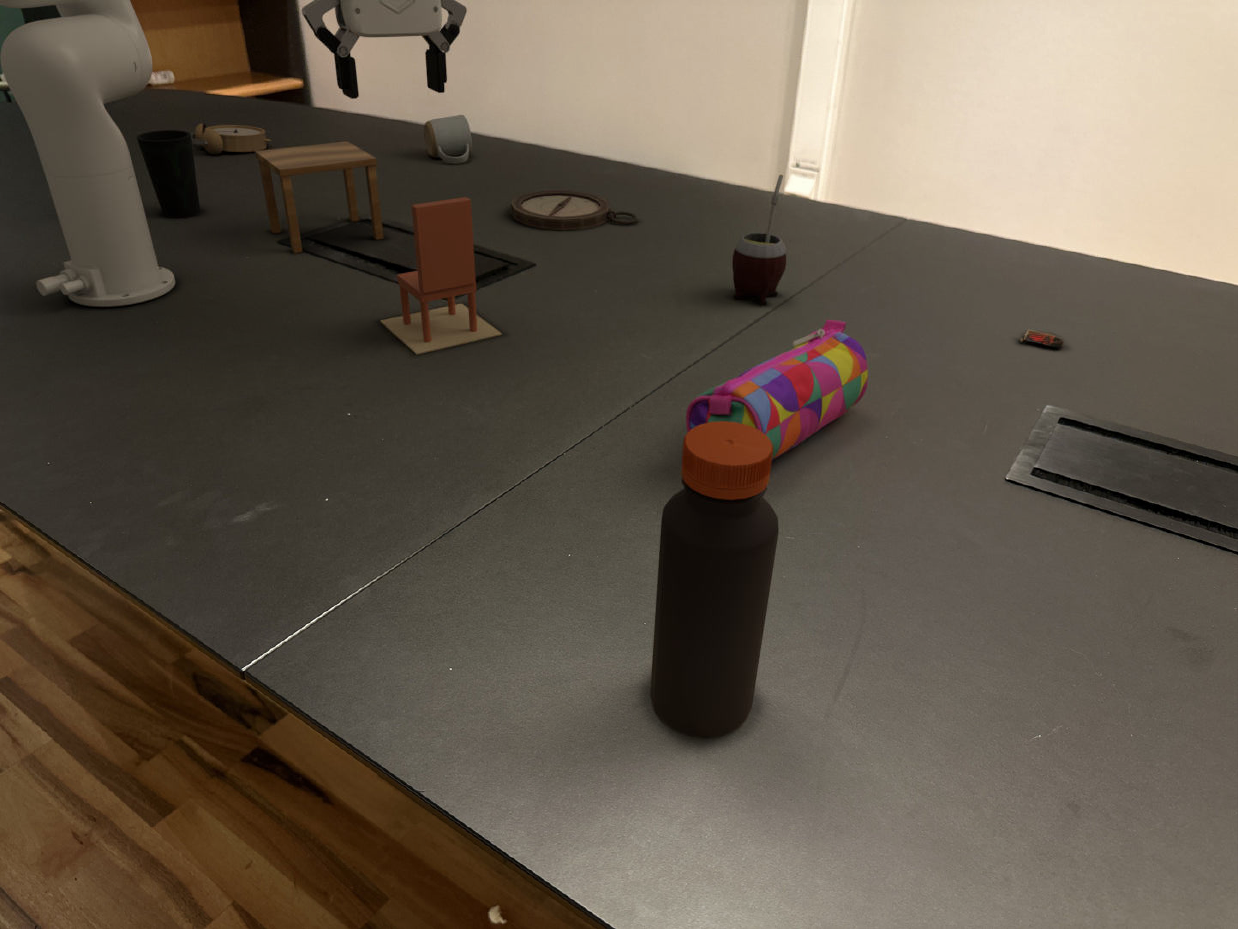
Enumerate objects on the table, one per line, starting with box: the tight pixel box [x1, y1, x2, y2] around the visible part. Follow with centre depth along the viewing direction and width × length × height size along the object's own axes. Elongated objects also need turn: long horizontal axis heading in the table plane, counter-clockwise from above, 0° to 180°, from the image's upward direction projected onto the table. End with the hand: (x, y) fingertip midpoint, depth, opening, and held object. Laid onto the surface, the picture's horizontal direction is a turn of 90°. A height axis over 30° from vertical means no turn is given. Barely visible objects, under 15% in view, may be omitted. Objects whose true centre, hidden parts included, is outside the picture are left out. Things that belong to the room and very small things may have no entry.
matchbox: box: [1019, 329, 1065, 349], centre depth 111 cm, size 5×5×1 cm
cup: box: [136, 129, 201, 219], centre depth 142 cm, size 8×8×12 cm
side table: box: [254, 141, 384, 254], centre depth 135 cm, size 12×14×12 cm
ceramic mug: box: [423, 114, 473, 165], centre depth 178 cm, size 11×8×8 cm
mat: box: [379, 303, 502, 356], centre depth 110 cm, size 11×11×1 cm
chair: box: [396, 196, 477, 342], centre depth 105 cm, size 7×7×16 cm
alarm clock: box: [190, 123, 272, 155], centre depth 180 cm, size 11×5×15 cm
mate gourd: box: [731, 174, 787, 306], centre depth 118 cm, size 8×8×15 cm
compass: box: [510, 189, 638, 231], centre depth 149 cm, size 20×16×2 cm
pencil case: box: [685, 319, 869, 461], centre depth 87 cm, size 22×9×9 cm, turn 141°
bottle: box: [649, 421, 779, 739], centre depth 54 cm, size 7×7×20 cm
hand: (394, 93), depth 97 cm, fingers open, 9 cm apart
